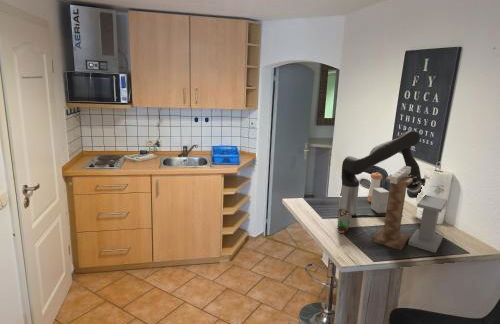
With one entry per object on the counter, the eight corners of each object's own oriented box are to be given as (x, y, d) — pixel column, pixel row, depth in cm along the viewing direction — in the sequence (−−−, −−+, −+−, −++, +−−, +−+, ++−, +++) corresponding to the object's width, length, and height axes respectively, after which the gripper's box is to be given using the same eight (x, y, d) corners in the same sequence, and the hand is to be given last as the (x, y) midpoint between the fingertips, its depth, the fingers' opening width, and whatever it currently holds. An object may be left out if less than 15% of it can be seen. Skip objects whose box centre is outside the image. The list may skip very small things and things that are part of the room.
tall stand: (371, 240, 170) (379, 178, 161) (380, 231, 180) (388, 172, 172) (401, 250, 162) (411, 185, 153) (409, 239, 172) (418, 178, 164)
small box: (387, 212, 205) (390, 191, 201) (377, 213, 203) (380, 192, 200) (379, 207, 212) (382, 187, 209) (370, 208, 211) (372, 187, 208)
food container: (350, 236, 174) (353, 218, 171) (338, 235, 175) (340, 216, 172) (349, 226, 185) (351, 208, 183) (337, 224, 186) (339, 207, 184)
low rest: (408, 244, 167) (414, 203, 162) (417, 231, 181) (423, 193, 176) (435, 252, 160) (443, 210, 155) (442, 238, 174) (450, 199, 168)
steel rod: (389, 182, 156) (390, 176, 155) (404, 171, 174) (404, 165, 174) (396, 184, 154) (397, 177, 153) (410, 172, 173) (411, 166, 172)
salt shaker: (370, 197, 228) (374, 169, 223) (381, 201, 223) (385, 172, 218) (365, 200, 223) (368, 172, 218) (375, 203, 218) (379, 174, 213)
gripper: (401, 175, 195) (396, 165, 182) (428, 180, 187) (425, 171, 174) (397, 187, 194) (392, 179, 181) (425, 193, 185) (421, 185, 173)
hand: (408, 175), depth 177 cm, fingers open, 8 cm apart
